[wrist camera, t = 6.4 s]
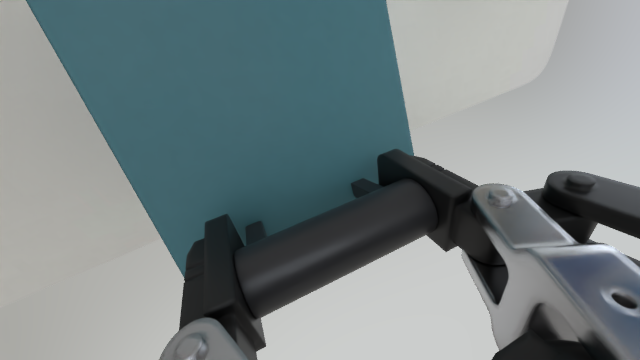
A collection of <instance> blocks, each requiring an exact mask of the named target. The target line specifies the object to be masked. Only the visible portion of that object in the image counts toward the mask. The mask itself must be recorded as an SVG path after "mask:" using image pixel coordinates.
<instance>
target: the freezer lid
mask: <svg viewBox="0 0 640 360" xmlns="http://www.w3.org/2000/svg"><path fill="white" fill-rule="evenodd" d="M26 1H27V3H28V5H29V7H30V8H31V10H32V12H33V14H34V15H35V17H36V19H37V21H38V22H39V24H40V26H41V28H42V29H43V31H44V33H45V35H46V36H47V38H48V40H49V42H50V43H51V45H52V47H53V49H54V50H55V52H56V54H57V56H58V57H59V59H60V61H61V63H62V64H63V66H64V68H65V70H66V71H67V73H68V75H69V77H70V79H71V80H72V82H73V84H74V86H75V87H76V89H77V91H78V93H79V94H80V96H81V98H82V100H83V101H84V103H85V105H86V107H87V108H88V110H89V112H90V114H91V115H92V117H93V119H94V121H95V122H96V124H97V126H98V128H99V129H100V131H101V133H102V135H103V136H104V138H105V140H106V142H107V143H108V145H109V147H110V149H111V150H112V152H113V154H114V156H115V157H116V159H117V161H118V163H119V164H120V166H121V168H122V170H123V171H124V173H125V175H126V177H127V178H128V180H129V182H130V184H131V185H132V187H133V189H134V191H135V192H136V194H137V196H138V198H139V199H140V201H141V203H142V205H143V206H144V208H145V210H146V212H147V213H148V215H149V217H150V219H151V220H152V222H153V224H154V226H155V227H156V229H157V231H158V233H159V234H160V236H161V238H162V240H163V241H164V243H165V245H166V246H167V248H168V250H169V252H170V254H171V255H172V257H173V259H174V261H175V262H176V264H177V266H178V267H179V269H180V271H181V273H182V275H183V276H184V278H185V271H186V269H185V268H186V258H187V254H188V252H189V251H190V249H191V247H192V245H193V243H194V242H196V241H198V240H201V239H203V238H204V236H205V222H206V221H209V220H212V219H214V218H217V217H219V216H222V215H224V214H228V215H229V217H230V219H231V221H232V223H233V224H234V226H235V228H236V230H237V232H238V234H239V236H240V238H241V240H242V242H243V244H244V246H245V247H242V248H240V249H238V250H236V251H235V252H234V264H235V270H236V274H237V278H238V281H239V285H240V288H241V291H242V293H243V296H244V299H245V301H246V303H247V305H248V307H249V309H250V311H251V313H252V314H253V315H254V316H255V317H256V318H257V319H259V318H261V317H263V316H265V315H267V314H269V313H271V312H273V311H275V310H277V309H279V308H281V307H283V306H285V305H287V304H289V303H291V302H293V301H295V300H297V299H299V298H301V297H303V296H305V295H307V294H309V293H311V292H313V291H315V290H317V289H319V288H321V287H323V286H325V285H327V284H329V283H331V282H333V281H335V280H337V279H339V278H341V277H343V276H345V275H347V274H349V273H351V272H353V271H355V270H357V269H359V268H361V267H363V266H365V265H367V264H369V263H371V262H373V261H375V260H377V259H379V258H381V257H383V256H384V255H387V254H389V253H391V252H393V251H395V250H397V249H399V248H401V247H402V246H405V245H407V244H409V243H411V242H413V241H415V240H417V239H419V238H421V237H423V236H425V235H427V234H429V233H431V232H432V231H434V230H435V228H436V226H437V223H438V216H437V211H436V208H435V205H434V203H433V201H432V199H431V197H430V196H429V194H428V193H427V191H426V190H425V189H424V188H423V187H422V186H421V185H420V184H419V183H417V182H416V181H414V180H412V179H408V178H404V179H401V180H399V181H397V182H394V183H392V184H390V185H387V186H385V187H383V186H381V185H379V179H378V166H377V158H378V156H379V155H380V154H383V153H386V152H388V151H391V150H393V149H399V150H401V151H403V152H404V153H406V154H408V155H410V156H411V155H412V156H414V153H413V147H412V142H411V136H410V131H409V125H408V120H407V114H406V109H405V103H404V98H403V92H402V87H401V81H400V76H399V70H398V65H397V59H396V53H395V48H394V42H393V37H392V31H391V26H390V20H389V15H388V9H387V4H386V0H26Z"/></svg>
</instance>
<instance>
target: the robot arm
mask: <svg viewBox="0 0 640 360" xmlns="http://www.w3.org/2000/svg"><path fill="white" fill-rule="evenodd" d="M377 166H378V179H379V185H381V186H383V187H385V186H387V185H390V184H392V183H394V182H397V181H399V180H401V179H404V178H408V179H412V180H414V181H416V182H417V183H419V184H420V185H421V186H422V187H423V188H424V189H425V190H426V191H427V193H428V194H429V196H430V197H431V199H432V201H433V203H434V205H435V208H436V211H437V216H438V223H437V226H436V228H435V230H434V231H432V232H431V233H429V234H427V236H428V237H429V238H431V239H432V240H433V241H434V242H435V243H436V244H438V245H439V246H440V247H441V248H442V249H443V250H444V251H446V252H447V251H449V250H450V249H452V248H454V247H456V246H459V247H460V248H461V249H462V259H463V261H464V263H465V265H466V267H467V269H468V271H469V273H470V275H471V277H472V279H473V281H474V283H475V285H476V287H477V289H478V291H479V293H480V295H481V297H482V299H483V301H484V303H485V304H486V306H487V309H488V311H489V314H490V317H491V323H492V331H493V335H494V338H495V340H496V344H497V346H498V348H499V352H497V353H496V354H495V355H494V357H493V359H492V360H640V261H638V260H636V259H634V258H631V257H629V256H627V255H624V254H622V253H621V252H620V251H619V250H617V249H616V248H614V247H612V246H610V245H607V244H604V243H596V242H594V241H592V240H590V239H589V238H590V236H591V234H592V232H593V231H594V229H595V227H596V225H597V224H598V223H600V224H603V225H605V226H608V227H610V228H613V229H615V230H618V231H621V232H623V233H626V234H628V235H631V236H634V237H637V238H639V239H640V187H636V186H633V185H629V184H625V183H622V182H618V181H615V180H611V179H607V178H604V177H600V176H596V175H593V174H589V173H585V172H579V171H558V172H554V173H552V174H550V175H549V176H548V178H547V180H546V183H545V186H544V188H541V189H536V190H529V191H523V192H522V191H521V190H519V189H517V188H514V187H512V186H508V185H504V184H485V185H481V186H478V185H476V184H473V183H472V182H470V181H468V180H466V179H464V178H462V177H460V176H458V175H456V174H454V173H452V172H450V171H448V170H444V168H442V167H441V166H439V165H435V163H433V162H431V161H429V160H427V159H425V158H421V157H416V156H412V155H411V156H410V155H408V154H406V153H404V152H403V151H401V150H399V149H393V150H391V151H388V152H386V153H383V154H380V155H379V156H378V158H377ZM242 247H245V246H244V244H243V242H242V240H241V238H240V236H239V234H238V232H237V230H236V228H235V226H234V224H233V223H232V221H231V219H230V217H229V215H228V214H224V215H222V216H219V217H217V218H214V219H212V220H209V221H206V222H205V236H204V238H203V239H201V240H198V241H196V242H194V243H193V245H192V247H191V249H190V251H189V252H188V254H187V258H186V268H185V269H186V271H185V278H184V280H185V283H184V287H183V297H182V307H181V317H180V327H179V331H178V332H177V333H176V334H175V335H174V336H173V338H172V339H171V340H170V341H169V343H168V344H167V346H166V347H165V349H164V351H163V352H162V354H161V357H160V359H159V360H257V355H256V351H258V350H260V349H262V348H264V347H266V343H265V338H264V333H263V328H262V323H261V318H259V319H257V318H256V317H255V316H254V315H253V314H252V313H251V311H250V309H249V307H248V305H247V303H246V301H245V299H244V296H243V293H242V291H241V288H240V285H239V281H238V278H237V274H236V270H235V264H234V252H235V251H236V250H238V249H240V248H242Z"/></svg>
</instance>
